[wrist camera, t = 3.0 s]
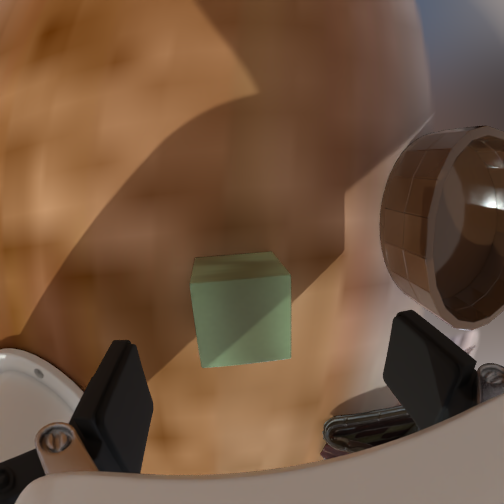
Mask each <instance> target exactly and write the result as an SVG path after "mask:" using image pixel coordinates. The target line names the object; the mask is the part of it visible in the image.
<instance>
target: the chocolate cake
mask: <svg viewBox="0 0 504 504" xmlns="http://www.w3.org/2000/svg"><path fill="white" fill-rule="evenodd" d="M323 429H324V430H323V431H322V432H323V439H325V440H326V442H327V444H326V445H325V448H324V449H323V451H322V452H321V456H322V457H323V458H324V460H326V459H331V458H335V457H339V456H343V455H347V454H351V453H355V452H358V451H362V450H365V449H368V448H372V447H375V446H378V445H381V444H384V443H387V442H390V441H393V440H396V439H399V438H402V437H405V436H407V435H410V434H413V433H415V432H418V431H420V429H419V428H418V426H417V425H416V423H415V422H414V421H413V419H412V418H411V417H410V415H409V414H408V413H407V411H406V410H405V408H404V407H403V406H399V407H394V408H389V409H383V410H380V411H379V410H378V411H371V412H369V413H363V414H355V415H345V416H336V417H334V418H333V417H332V419H331V418H330V419H329V420H327V422H325V424H324V428H323Z"/></svg>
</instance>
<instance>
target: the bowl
mask: <svg viewBox="0 0 504 504" xmlns="http://www.w3.org/2000/svg"><path fill="white" fill-rule="evenodd" d="M380 239H381V247H382V252H383V256H384V260H385V263H386V266H387V269H388V271H389V273H390V275H391V277H392V279H393V281H394V282H395V283H396V285H397V286H398V288H399V289H400V290H401V291H402V292H403V293H404V294H406V295H407V296H408V297H410V298H411V299H412V300H414V301H415V302H416V303H418V304H419V305H421V306H422V307H424V308H425V309H427V310H428V311H429V312H431V313H433V314H434V315H435V316H437V317H438V318H440V319H441V320H443V321H444V322H446V323H447V324H449V325H450V326H451V327H453V328H455V329H464V330H474V329H476V328H479V327H482V326H484V325H486V324H488V323H490V322H491V321H492V320H493V319H495V318H496V317H497V316H498V315H499V314H500V313H501V312H503V310H504V131H501V130H499V129H496V128H492V127H490V126H477V127H467V128H458V129H449V130H443V131H439V132H434V133H430V134H427V135H424V136H422V137H420V138H418V139H417V140H415V141H414V142H413V143H412V144H410V145H409V146H408V147H407V149H406V150H405V151H404V152H403V153H402V154H401V156H400V157H399V159H398V160H397V162H396V163H395V165H394V167H393V169H392V171H391V173H390V176H389V179H388V181H387V184H386V187H385V191H384V195H383V199H382V206H381V214H380Z"/></svg>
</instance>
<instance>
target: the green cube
mask: <svg viewBox="0 0 504 504" xmlns="http://www.w3.org/2000/svg"><path fill="white" fill-rule="evenodd" d="M189 285H190V293H191V300H192V308H193V315H194V322H195V329H196V335H197V342H198V348H199V355H200V361H201V367H202V368H208V367H220V366H232V365H242V364H251V363H260V362H268V361H275V360H283V359H290V358H291V275H290V273H289V272H288V271H287V270H286V268H285V267H284V266H283V265H282V263H281V262H280V261H279V260H278V258H277V257H276V256H275V255H274V254H273V252H260V253H247V254H235V255H223V256H211V257H199V258H195V261H194V265H193V270H192V275H191V280H190V284H189Z"/></svg>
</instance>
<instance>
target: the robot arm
mask: <svg viewBox="0 0 504 504" xmlns="http://www.w3.org/2000/svg"><path fill="white" fill-rule="evenodd" d="M475 365H476V361H475V360H474V359H473V358H472V357H471V356H470V355H468V354H467V353H466V352H465V351H463V350H462V349H461V348H460V347H459V346H457V345H456V344H455V343H454V342H452V341H451V340H450V339H449V338H448V337H446V336H445V335H444V334H443V333H441V332H440V331H439V330H437V329H436V328H435V327H434V326H432V325H431V324H430V323H429V322H427V321H426V320H425V319H424V318H422V317H421V316H420V315H418V314H417V313H416V312H415V311H413V310H408V311H403V312H399V313H398V314H397V315H396V317H394V319H393V323H392V330H391V336H390V341H389V347H388V352H387V357H386V362H385V367H384V372H383V379H384V381H385V383H386V384H387V386H388V387H389V388H390V390H391V391H392V392H393V394H394V395H395V396H396V398H397V399H398V400H399V402H400V403H401V404H402V406H403V407H404V408H405V410H406V411H407V413H408V414H409V415H410V417H411V418H412V419H413V421H414V422H415V423H416V425H417V426H418V428H419V429H420V431H418V432H415V433H413V434H410V435H407V436H405V437H402V438H399V439H396V440H393V441H390V442H387V443H384V444H381V445H378V446H375V447H372V448H368V449H365V450H362V451H358V452H355V453H351V454H347V455H343V456H339V457H335V458H331V459H326V460H322V461H317V462H312V463H307V464H302V465H296V466H290V467H284V468H277V469H270V470H262V471H254V472H244V473H231V474H213V475H155V474H140V472H141V466H142V461H143V456H144V451H145V446H146V441H147V436H148V432H149V427H150V422H151V418H152V413H153V401H152V398H151V395H150V392H149V389H148V385H147V382H146V379H145V375H144V372H143V368H142V365H141V361H140V358H139V354H138V350H137V347H136V345H135V344H131V342H130V341H129V340H114V341H113V342H112V344H111V346H110V347H109V349H108V351H107V353H106V354H105V356H104V358H103V360H102V362H101V364H100V365H99V367H98V369H97V371H96V373H95V375H94V376H93V377H92V378H91V380H90V382H89V384H88V386H87V388H86V389H85V391H84V392H83V391H82V390H81V389H80V388H79V387H78V386H77V385H76V384H75V383H74V382H73V381H72V380H71V379H69V378H68V377H67V376H66V375H65V374H64V373H62V372H61V371H60V370H58V369H57V368H55V367H54V366H53V365H51V364H50V363H48V362H47V361H45V360H43V359H41V358H39V357H38V356H36V355H33V354H31V353H28V352H26V351H23V350H19V349H14V348H4V349H1V350H0V504H504V367H503V366H500V365H498V364H494V363H487V364H483V365H482V366H480V367H479V368H478V370H477V371H476V370H475V369H474V368H475Z"/></svg>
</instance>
